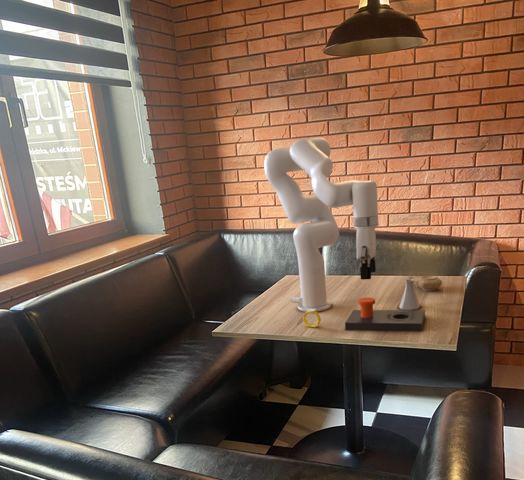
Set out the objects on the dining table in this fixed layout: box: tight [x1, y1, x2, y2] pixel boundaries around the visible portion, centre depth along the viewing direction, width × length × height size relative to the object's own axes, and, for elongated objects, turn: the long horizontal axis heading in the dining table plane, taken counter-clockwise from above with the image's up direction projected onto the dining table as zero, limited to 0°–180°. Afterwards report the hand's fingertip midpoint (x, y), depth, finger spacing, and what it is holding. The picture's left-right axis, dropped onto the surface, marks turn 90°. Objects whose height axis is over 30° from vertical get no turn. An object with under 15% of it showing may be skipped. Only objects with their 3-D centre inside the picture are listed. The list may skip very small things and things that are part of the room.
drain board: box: [344, 309, 426, 332], centre depth 177 cm, size 24×14×2 cm, turn 70°
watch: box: [302, 309, 322, 328], centre depth 181 cm, size 6×3×6 cm, turn 57°
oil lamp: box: [406, 275, 443, 292], centre depth 210 cm, size 11×14×5 cm
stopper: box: [357, 297, 376, 318], centre depth 177 cm, size 6×6×6 cm
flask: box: [399, 278, 421, 310], centre depth 189 cm, size 7×7×10 cm
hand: (368, 275), depth 173 cm, fingers open, 9 cm apart
